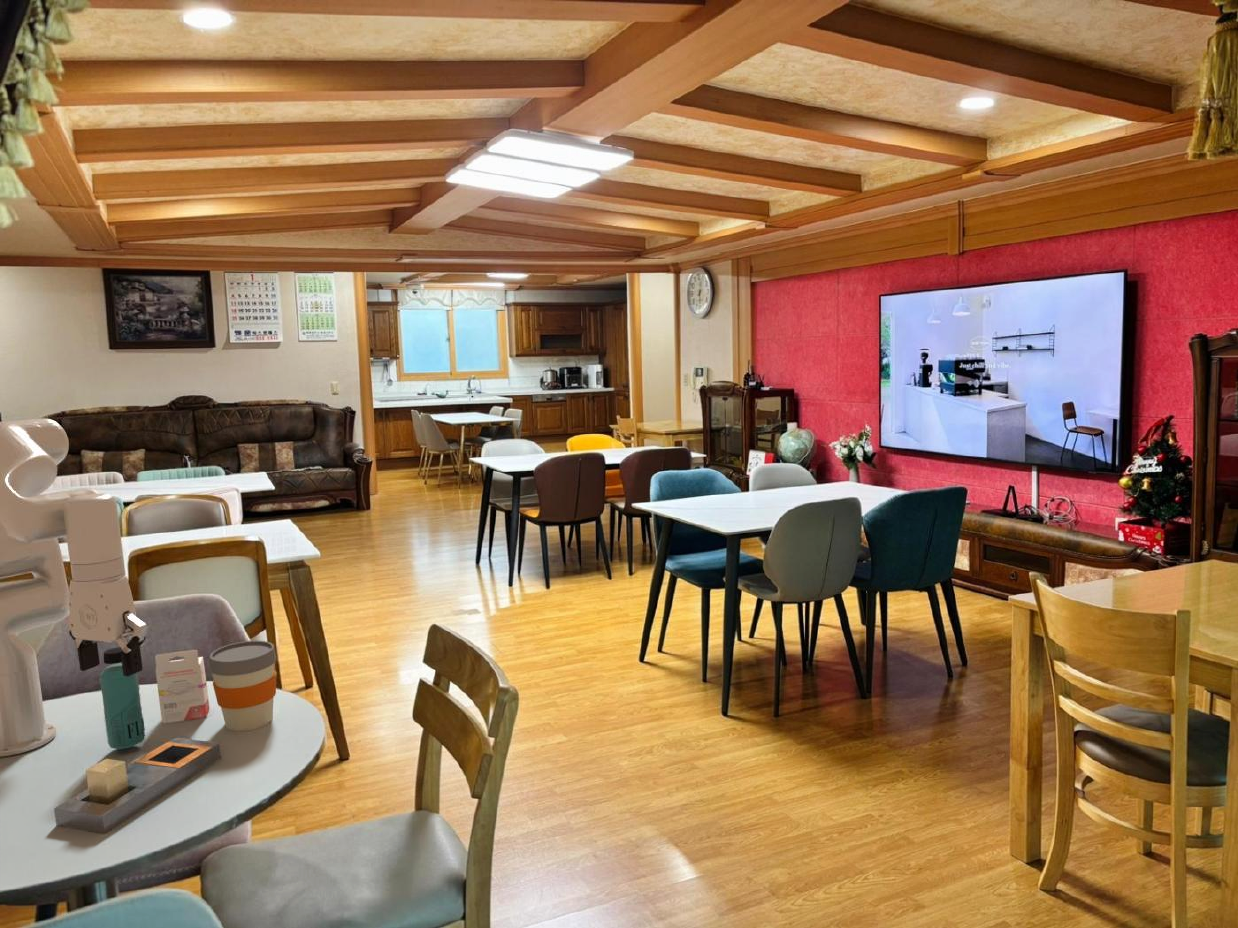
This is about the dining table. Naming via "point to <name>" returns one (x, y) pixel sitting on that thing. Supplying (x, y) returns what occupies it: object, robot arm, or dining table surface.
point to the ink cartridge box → (181, 686)
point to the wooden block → (107, 781)
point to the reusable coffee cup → (245, 683)
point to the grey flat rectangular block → (141, 785)
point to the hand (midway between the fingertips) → (111, 670)
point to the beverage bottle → (121, 703)
